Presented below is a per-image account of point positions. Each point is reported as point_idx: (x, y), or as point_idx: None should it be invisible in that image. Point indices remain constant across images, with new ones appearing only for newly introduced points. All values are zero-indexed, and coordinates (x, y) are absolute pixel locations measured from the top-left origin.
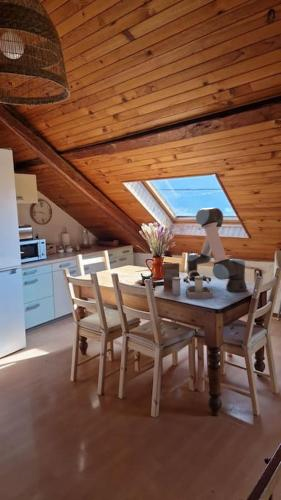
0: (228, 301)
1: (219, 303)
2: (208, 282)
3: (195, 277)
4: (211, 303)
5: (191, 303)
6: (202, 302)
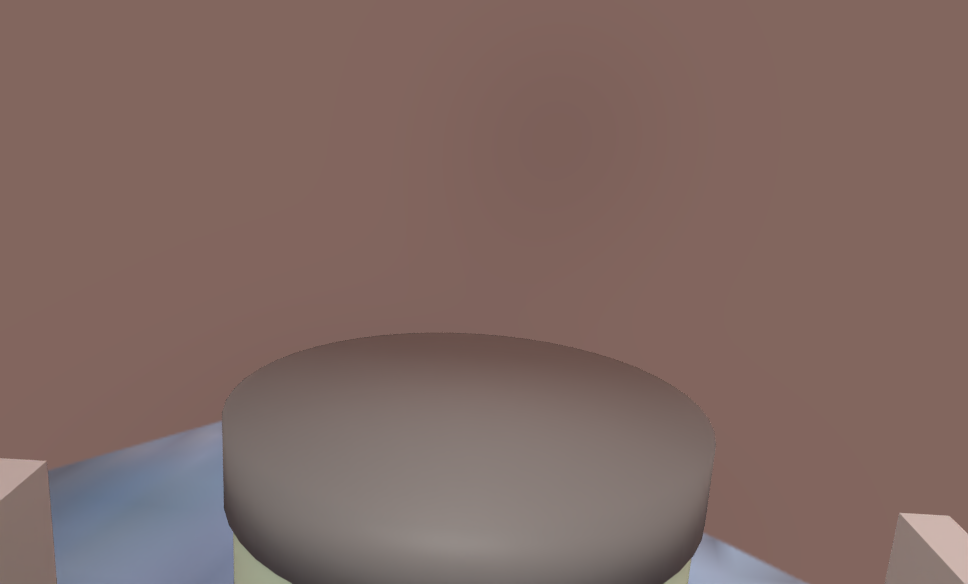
0: None
1: None
2: (36, 549)
3: (657, 399)
4: None
5: None
6: None
